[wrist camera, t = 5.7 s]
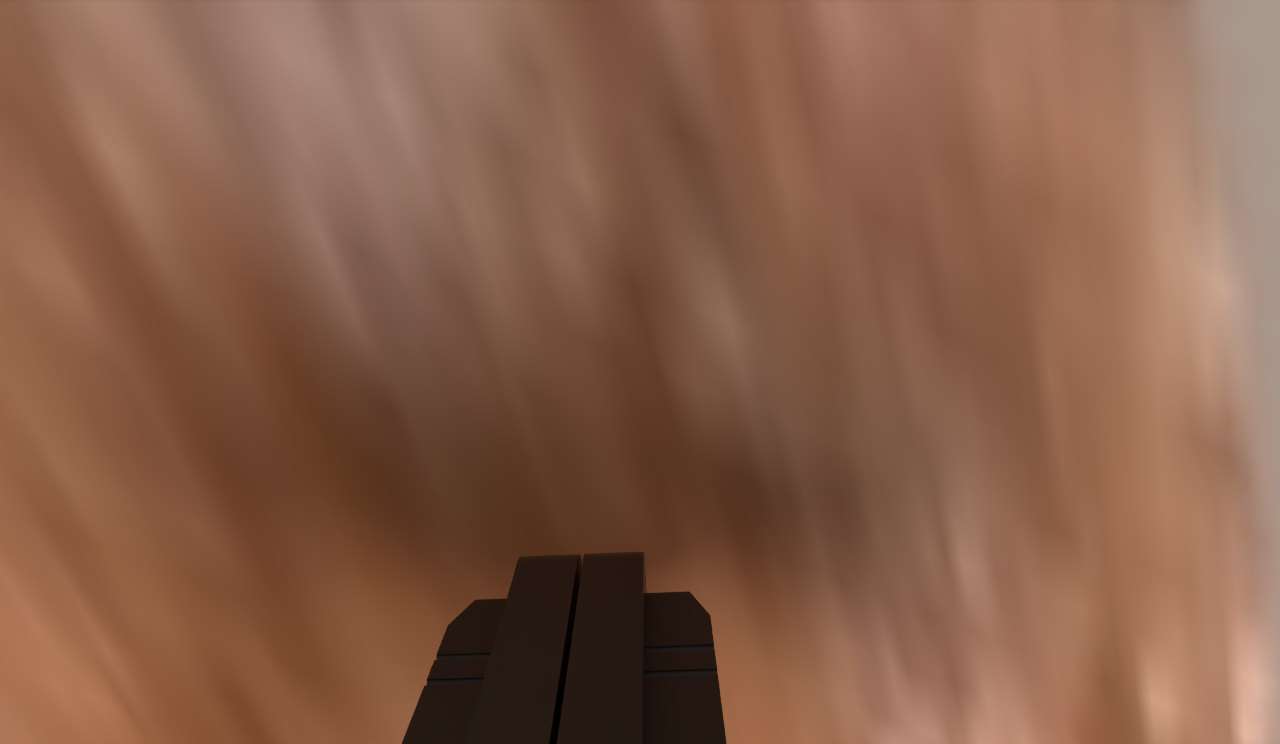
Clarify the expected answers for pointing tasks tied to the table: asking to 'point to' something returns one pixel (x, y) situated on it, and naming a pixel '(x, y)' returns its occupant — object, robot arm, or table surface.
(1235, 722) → the table surface
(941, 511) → the table surface
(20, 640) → the table surface
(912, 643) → the table surface
